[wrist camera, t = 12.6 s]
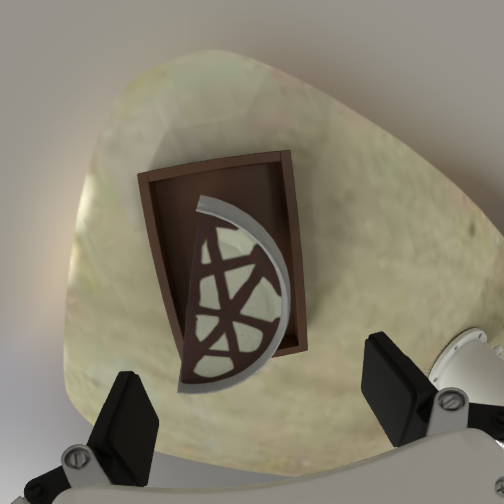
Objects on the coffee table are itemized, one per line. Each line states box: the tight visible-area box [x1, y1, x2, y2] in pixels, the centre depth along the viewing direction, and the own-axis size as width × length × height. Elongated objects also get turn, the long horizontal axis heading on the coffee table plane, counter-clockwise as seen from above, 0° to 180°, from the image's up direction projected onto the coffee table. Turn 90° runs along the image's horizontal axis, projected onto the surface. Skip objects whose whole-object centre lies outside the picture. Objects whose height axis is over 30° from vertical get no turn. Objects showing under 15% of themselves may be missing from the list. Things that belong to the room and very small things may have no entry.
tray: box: [137, 150, 308, 362], centre depth 24 cm, size 12×18×3 cm, turn 7°
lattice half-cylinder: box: [177, 195, 291, 394], centre depth 20 cm, size 12×6×10 cm, turn 169°
